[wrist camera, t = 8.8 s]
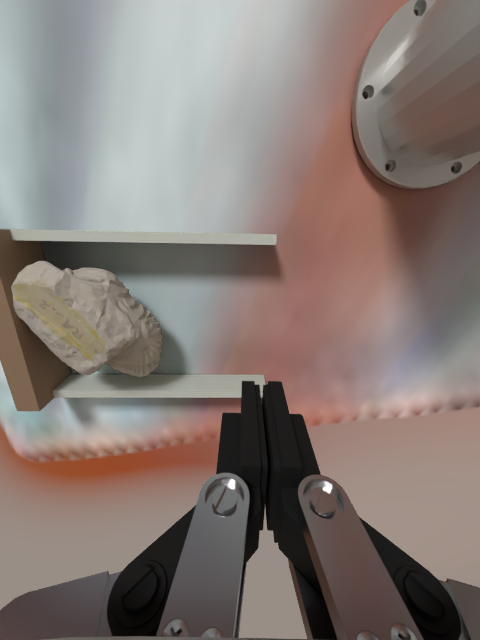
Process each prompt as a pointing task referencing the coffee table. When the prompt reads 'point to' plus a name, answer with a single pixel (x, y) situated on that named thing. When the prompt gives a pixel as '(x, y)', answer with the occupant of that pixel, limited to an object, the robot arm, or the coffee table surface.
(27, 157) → the coffee table surface
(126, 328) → the fossil replica
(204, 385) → the channel
